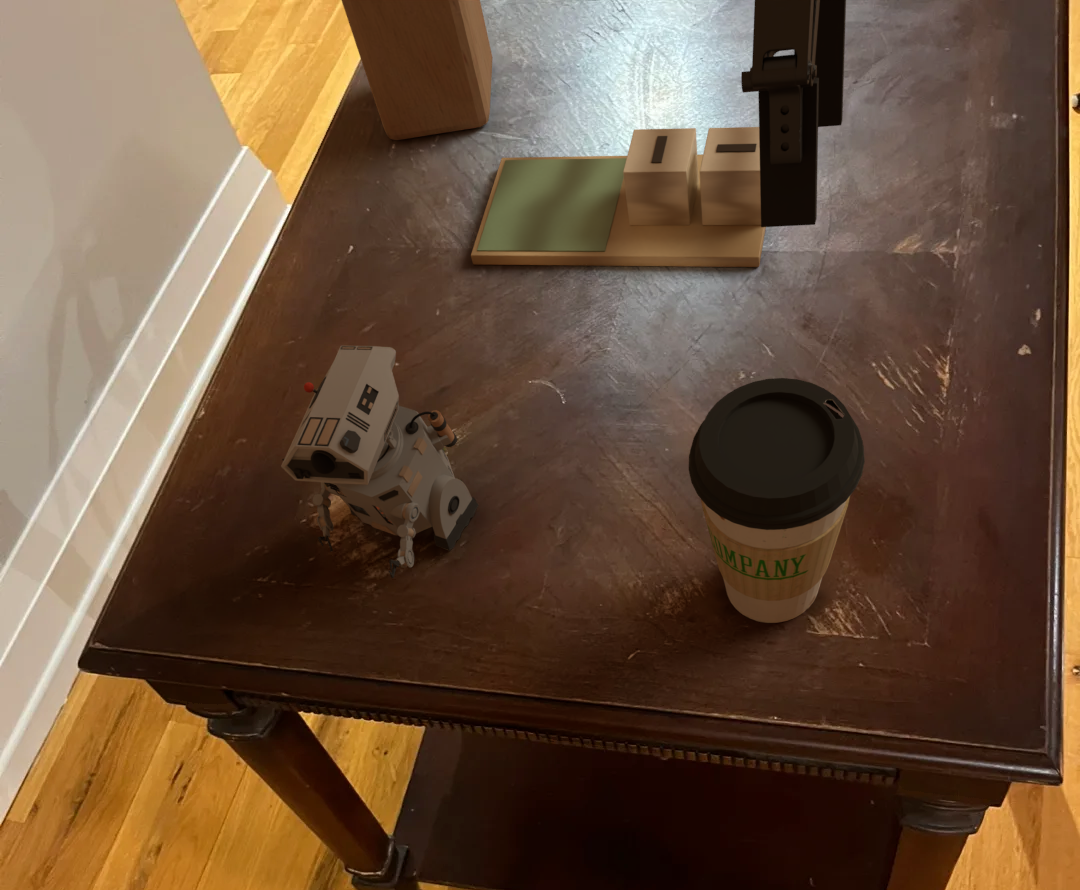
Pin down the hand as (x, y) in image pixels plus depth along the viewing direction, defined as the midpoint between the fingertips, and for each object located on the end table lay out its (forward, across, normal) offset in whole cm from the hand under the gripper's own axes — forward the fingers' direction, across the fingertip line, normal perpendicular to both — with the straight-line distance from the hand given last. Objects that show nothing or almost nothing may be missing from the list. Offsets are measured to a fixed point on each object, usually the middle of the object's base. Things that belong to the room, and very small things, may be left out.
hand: (804, 171), depth 60 cm
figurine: (+22, +5, -28) cm, 36 cm away
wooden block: (+7, -41, -38) cm, 56 cm away
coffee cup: (+24, +6, -1) cm, 25 cm away
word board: (+13, -27, -18) cm, 35 cm away
